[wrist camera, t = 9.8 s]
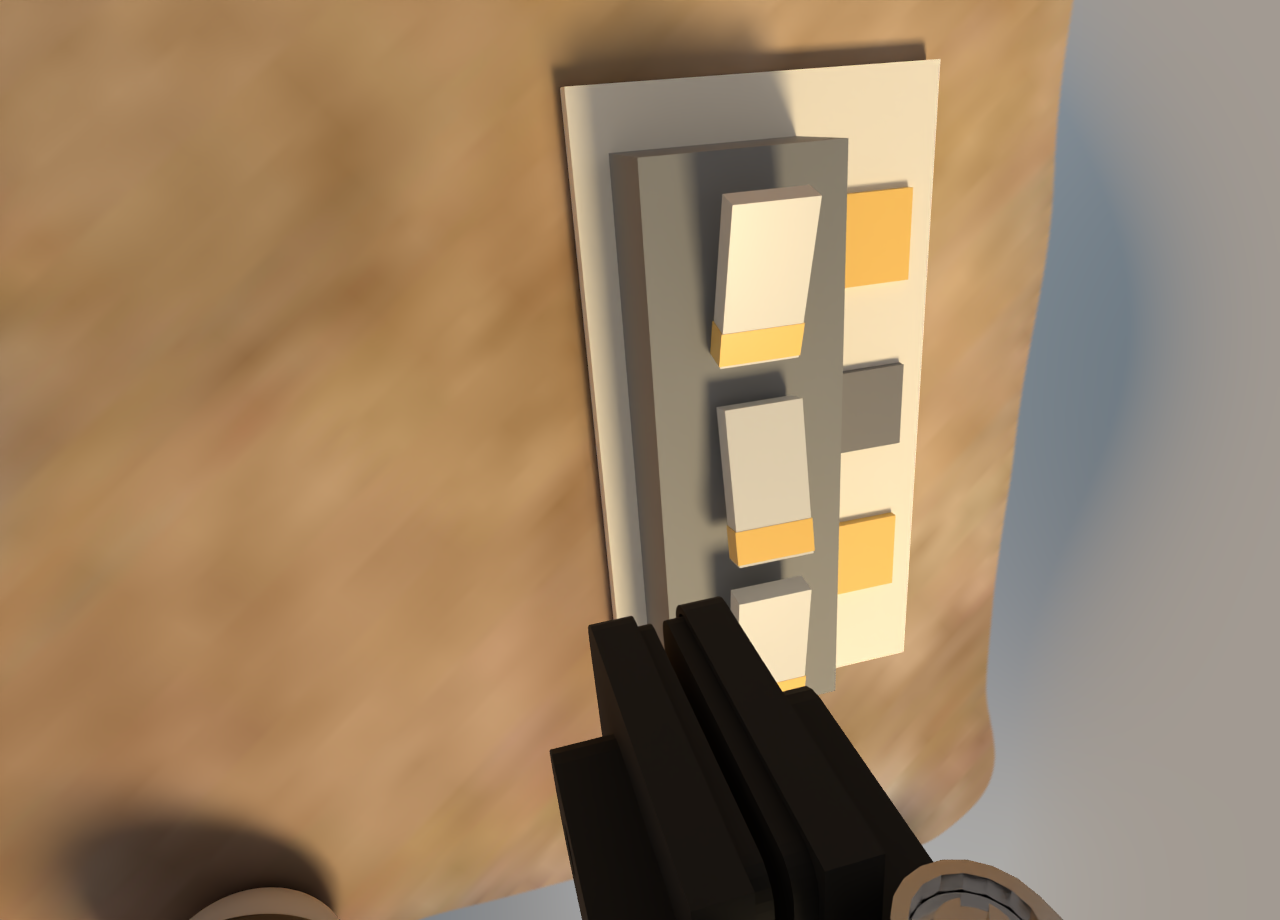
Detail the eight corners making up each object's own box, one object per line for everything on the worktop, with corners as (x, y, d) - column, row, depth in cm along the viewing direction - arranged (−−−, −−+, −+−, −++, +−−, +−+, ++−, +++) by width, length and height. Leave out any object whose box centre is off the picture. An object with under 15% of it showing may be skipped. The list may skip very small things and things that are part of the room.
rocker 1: (720, 193, 28) (731, 205, 27) (810, 184, 29) (823, 195, 28) (710, 355, 32) (718, 369, 32) (789, 343, 33) (799, 357, 32)
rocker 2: (729, 590, 35) (738, 605, 34) (802, 574, 36) (813, 589, 35) (727, 700, 38) (735, 716, 37) (794, 684, 39) (803, 700, 38)
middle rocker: (715, 407, 33) (723, 411, 32) (793, 394, 33) (803, 398, 32) (729, 560, 34) (738, 568, 33) (804, 545, 35) (815, 553, 34)
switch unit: (559, 87, 33) (587, 81, 28) (926, 60, 36) (1010, 50, 31) (622, 705, 44) (649, 778, 39) (894, 641, 48) (950, 701, 43)
